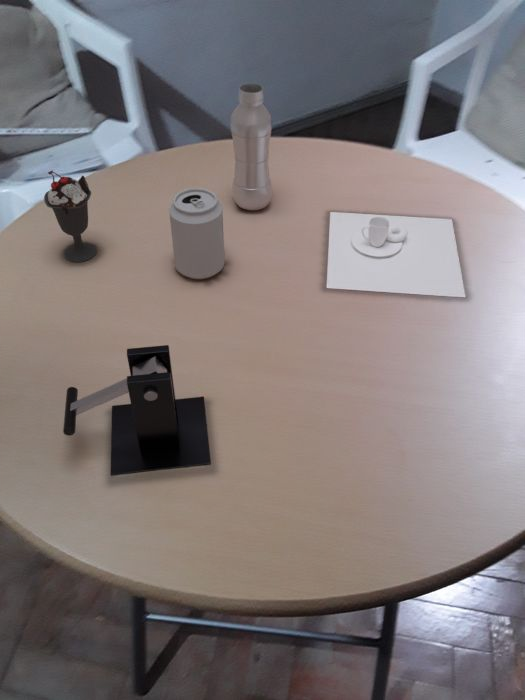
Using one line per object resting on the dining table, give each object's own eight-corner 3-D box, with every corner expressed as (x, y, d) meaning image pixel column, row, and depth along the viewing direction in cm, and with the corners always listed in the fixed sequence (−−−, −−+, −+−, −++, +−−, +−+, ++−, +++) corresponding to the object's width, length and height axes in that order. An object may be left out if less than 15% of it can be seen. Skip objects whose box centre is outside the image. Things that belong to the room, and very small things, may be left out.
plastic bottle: (260, 219, 112) (260, 101, 97) (225, 208, 114) (220, 91, 100) (278, 200, 116) (281, 85, 102) (244, 190, 118) (242, 75, 104)
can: (207, 246, 106) (203, 178, 98) (234, 270, 102) (232, 201, 93) (165, 263, 103) (157, 194, 95) (192, 289, 99) (186, 219, 90)
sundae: (53, 265, 102) (30, 177, 92) (64, 239, 107) (43, 152, 97) (97, 266, 102) (78, 178, 92) (106, 240, 107) (89, 153, 97)
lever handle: (71, 440, 72) (57, 428, 71) (74, 398, 77) (61, 386, 75) (168, 397, 70) (156, 384, 68) (166, 356, 74) (154, 343, 72)
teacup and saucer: (405, 231, 109) (409, 209, 107) (408, 261, 104) (412, 239, 101) (350, 227, 110) (353, 206, 107) (350, 257, 104) (353, 235, 101)
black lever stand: (112, 480, 75) (92, 405, 66) (113, 412, 82) (95, 335, 73) (211, 469, 76) (205, 393, 67) (204, 402, 83) (197, 326, 74)
